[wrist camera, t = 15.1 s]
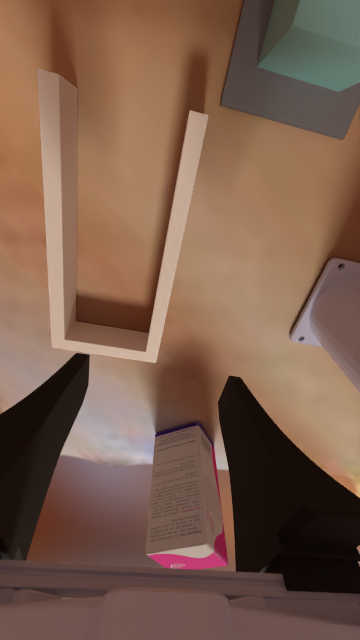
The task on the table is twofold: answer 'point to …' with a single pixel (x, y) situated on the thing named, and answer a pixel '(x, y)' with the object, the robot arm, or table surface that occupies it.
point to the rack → (62, 227)
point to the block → (314, 42)
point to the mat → (281, 84)
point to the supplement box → (185, 501)
